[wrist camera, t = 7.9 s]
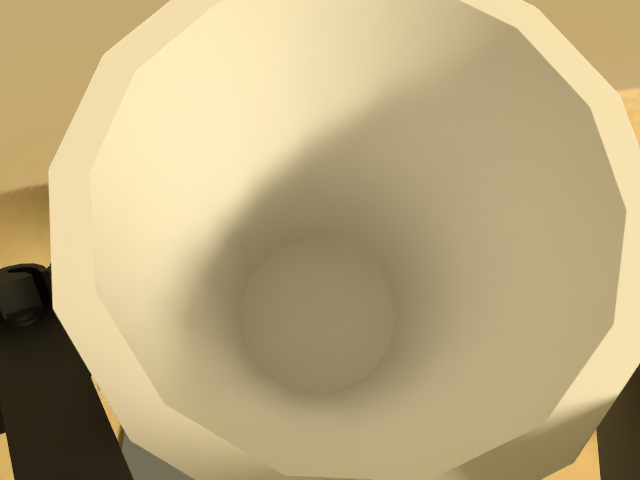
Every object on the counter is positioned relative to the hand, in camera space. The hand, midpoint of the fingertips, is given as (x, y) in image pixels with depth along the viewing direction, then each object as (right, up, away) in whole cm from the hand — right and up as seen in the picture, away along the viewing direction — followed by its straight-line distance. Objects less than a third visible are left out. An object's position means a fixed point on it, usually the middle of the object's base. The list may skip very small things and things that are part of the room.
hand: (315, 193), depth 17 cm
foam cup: (0, -4, +4) cm, 6 cm away
